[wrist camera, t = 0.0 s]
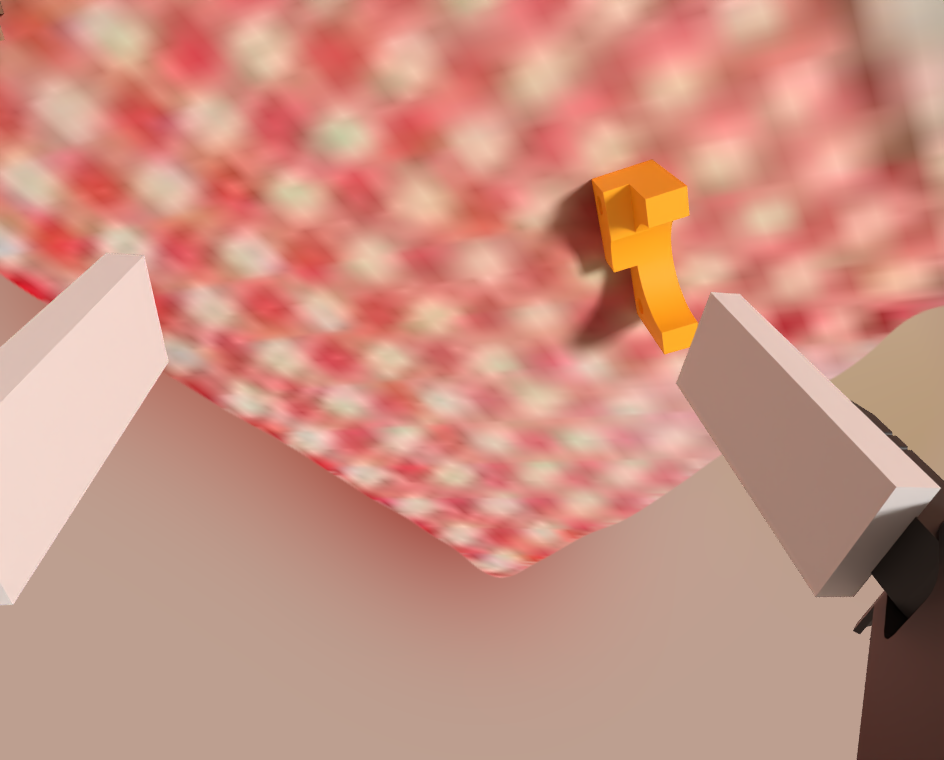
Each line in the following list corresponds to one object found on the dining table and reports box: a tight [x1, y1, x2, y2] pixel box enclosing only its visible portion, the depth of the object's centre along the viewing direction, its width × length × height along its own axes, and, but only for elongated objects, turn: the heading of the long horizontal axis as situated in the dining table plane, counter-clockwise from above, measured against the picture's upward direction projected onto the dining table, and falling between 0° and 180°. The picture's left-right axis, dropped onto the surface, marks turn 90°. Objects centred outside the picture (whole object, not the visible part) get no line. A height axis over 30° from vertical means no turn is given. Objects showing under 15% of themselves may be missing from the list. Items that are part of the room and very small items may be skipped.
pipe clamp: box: [592, 160, 698, 354], centre depth 41 cm, size 12×4×6 cm, turn 17°
